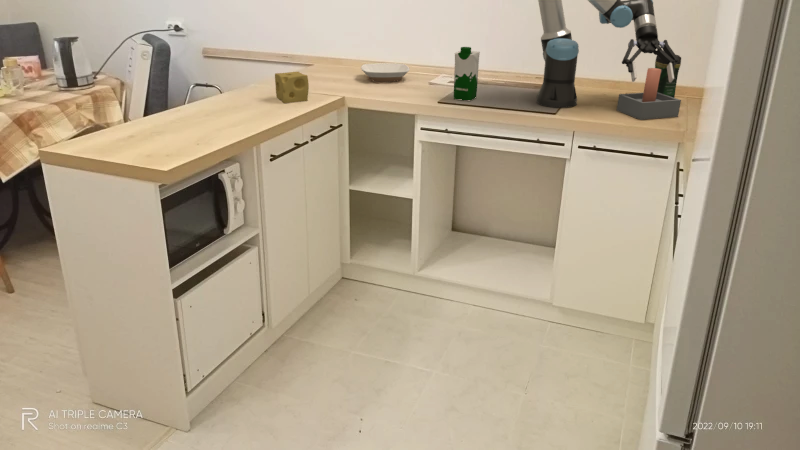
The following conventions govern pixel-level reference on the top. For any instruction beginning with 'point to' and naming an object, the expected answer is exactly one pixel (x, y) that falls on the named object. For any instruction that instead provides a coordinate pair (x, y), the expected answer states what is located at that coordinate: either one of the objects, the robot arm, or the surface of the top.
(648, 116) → the box
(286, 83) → the cheese
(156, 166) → the top surface
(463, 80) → the milk carton
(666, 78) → the coffee jar
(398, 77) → the bowl
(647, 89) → the peg
